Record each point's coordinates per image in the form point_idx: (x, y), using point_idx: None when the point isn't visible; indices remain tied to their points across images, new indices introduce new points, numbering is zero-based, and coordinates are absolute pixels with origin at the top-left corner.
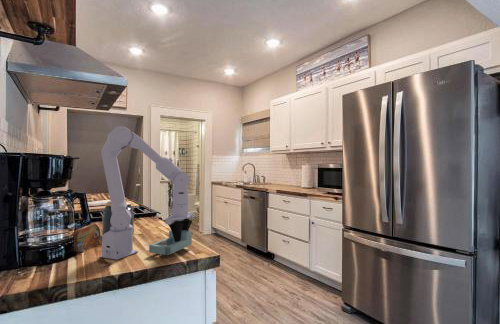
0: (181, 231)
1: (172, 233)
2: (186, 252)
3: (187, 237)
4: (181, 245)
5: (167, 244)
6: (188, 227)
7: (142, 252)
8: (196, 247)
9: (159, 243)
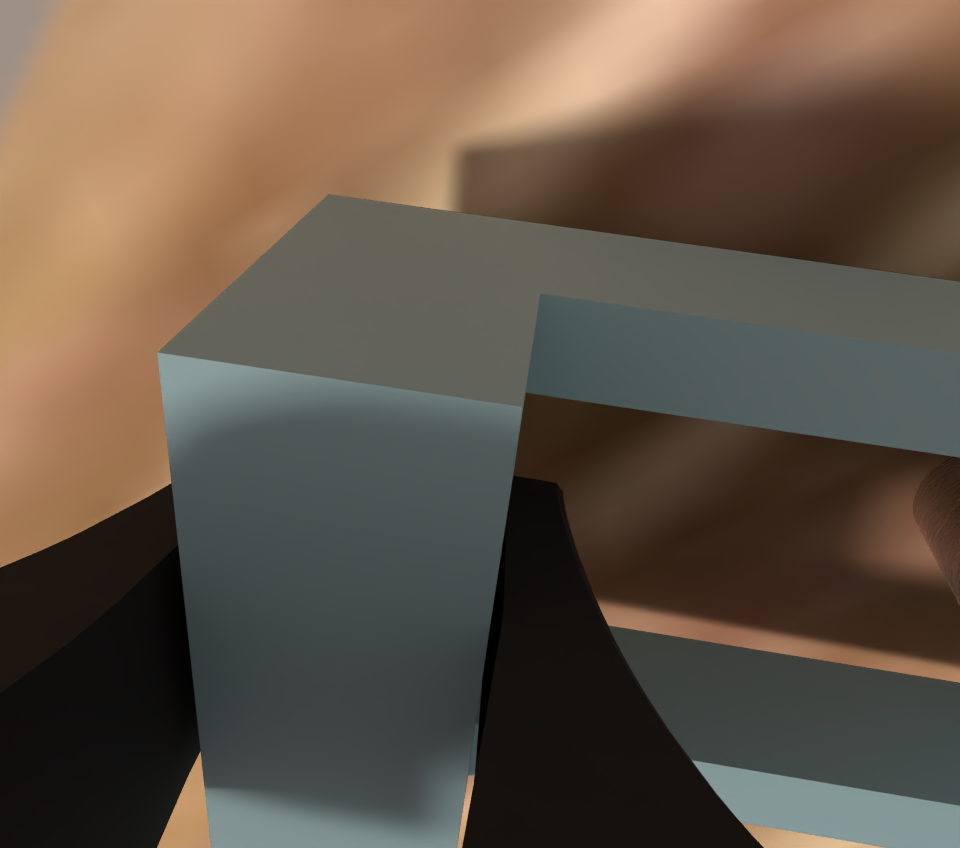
0: (380, 659)
1: (462, 810)
2: (714, 124)
3: (494, 312)
4: (808, 293)
5: (630, 659)
6: (14, 602)
7: (821, 839)
8: (242, 89)
9: (923, 781)
